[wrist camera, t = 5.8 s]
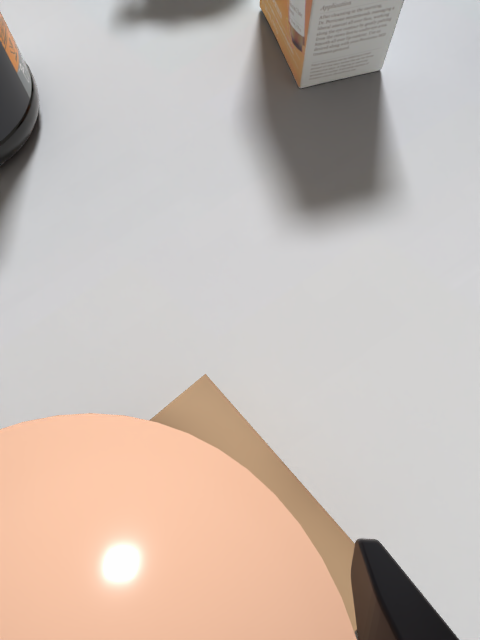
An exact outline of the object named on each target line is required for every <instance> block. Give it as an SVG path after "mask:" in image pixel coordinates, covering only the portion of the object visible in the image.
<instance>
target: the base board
mask: <svg viewBox="0 0 480 640" xmlns="http://www.w3.org/2000/svg"><path fill="white" fill-rule="evenodd" d="M149 421H153V422H157V423H160V424H163V425H166V426H169V427H172V428H174V429H177V430H180V431H183V432H186V433H189V434H190V435H192V436H194V437H196V438H198V439H200V440H202V441H204V442H206V443H208V444H210V445H212V446H214V447H216V448H218V449H219V450H221V451H222V452H224V453H225V454H226V455H228V456H229V457H231V458H232V459H234V460H235V461H236V462H238V463H239V464H241V465H242V466H244V467H245V468H246V469H248V470H249V471H250V472H251V473H252V474H253V475H254V476H255V477H257V478H258V479H259V480H260V481H261V482H262V483H263V484H264V485H265V486H266V487H267V488H268V489H270V490H271V491H272V492H273V493H274V494H275V495H276V496H277V498H278V499H279V500H280V501H281V502H282V503H283V505H284V506H285V507H286V508H287V509H288V511H289V512H290V513H291V514H292V515H293V517H294V518H295V519H296V520H297V521H298V522H299V524H300V525H301V527H302V528H303V530H304V531H305V533H306V534H307V536H308V537H309V539H310V540H311V542H312V543H313V545H314V547H315V548H316V550H317V551H318V553H319V554H320V556H321V557H322V559H323V561H324V563H325V565H326V567H327V569H328V571H329V573H330V575H331V577H332V579H333V581H334V583H335V585H336V587H337V589H338V591H339V593H340V595H341V597H342V600H343V603H344V605H345V608H346V611H347V614H348V616H349V619H350V622H351V625H352V627H353V630H354V632H355V631H356V630H357V625H356V617H355V609H354V601H353V593H352V585H351V565H352V559H353V553H354V547H355V544H354V542H353V541H352V540H351V539H350V538H349V537H348V536H347V535H346V533H345V532H344V531H343V530H342V529H341V528H340V527H339V525H338V524H337V523H336V522H335V521H334V520H333V519H332V517H331V516H330V515H329V514H328V513H327V512H326V511H325V509H324V508H323V507H322V506H321V505H320V504H319V503H318V502H317V500H316V499H315V498H314V497H313V496H312V495H311V494H310V492H309V491H308V490H307V489H306V488H305V487H304V486H303V484H302V483H301V482H300V481H299V480H298V479H297V478H296V476H295V475H294V474H293V473H292V472H291V471H290V470H289V468H288V467H287V466H286V465H285V464H284V463H283V462H282V461H281V459H280V458H279V457H278V456H277V455H276V454H275V453H274V451H273V450H272V449H271V448H270V447H269V446H268V445H267V443H266V442H265V441H264V440H263V439H262V438H261V437H260V435H259V434H258V433H257V432H256V431H255V430H254V429H253V427H252V426H251V425H250V424H249V423H248V422H247V421H246V420H245V418H244V417H243V416H242V415H241V414H240V413H239V412H238V410H237V409H236V408H235V407H234V406H233V405H232V404H231V402H230V401H229V400H228V399H227V398H226V397H225V396H224V394H223V393H222V392H221V391H220V390H219V389H218V388H217V386H216V385H215V384H214V383H213V382H212V381H211V380H210V379H209V377H208V376H207V375H206V374H205V375H204V376H202V377H201V378H200V379H199V380H198V381H196V382H195V383H194V384H193V385H191V386H190V387H189V388H188V389H187V390H185V391H184V392H183V393H182V394H181V395H179V396H178V397H177V398H176V399H175V400H173V401H172V402H171V403H170V404H169V405H167V406H166V407H165V408H164V409H163V410H161V411H160V412H159V413H158V414H157V415H155V416H154V417H153V418H152V419H151V420H149Z"/></svg>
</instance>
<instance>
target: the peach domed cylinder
mask: <svg viewBox="0 0 480 640" xmlns="http://www.w3.org/2000/svg"><path fill="white" fill-rule="evenodd" d="M0 640H357V638H356V636H355V633H354V630H353V627H352V625H351V622H350V619H349V616H348V614H347V611H346V608H345V605H344V603H343V600H342V597H341V595H340V593H339V591H338V589H337V587H336V585H335V583H334V581H333V579H332V577H331V575H330V573H329V571H328V569H327V567H326V565H325V563H324V561H323V559H322V557H321V556H320V554H319V553H318V551H317V550H316V548H315V547H314V545H313V543H312V542H311V540H310V539H309V537H308V536H307V534H306V533H305V531H304V530H303V528H302V527H301V525H300V524H299V522H298V521H297V520H296V519H295V518H294V517H293V515H292V514H291V513H290V512H289V511H288V509H287V508H286V507H285V506H284V505H283V503H282V502H281V501H280V500H279V499H278V498H277V496H276V495H275V494H274V493H273V492H272V491H271V490H270V489H268V488H267V487H266V486H265V485H264V484H263V483H262V482H261V481H260V480H259V479H258V478H257V477H255V476H254V475H253V474H252V473H251V472H250V471H249V470H248V469H246V468H245V467H244V466H242V465H241V464H239V463H238V462H236V461H235V460H234V459H232V458H231V457H229V456H228V455H226V454H225V453H224V452H222V451H221V450H219V449H218V448H216V447H214V446H212V445H210V444H208V443H206V442H204V441H202V440H200V439H198V438H196V437H194V436H192V435H190V434H189V433H186V432H183V431H180V430H177V429H174V428H172V427H169V426H166V425H163V424H160V423H157V422H153V421H148V420H143V419H138V418H134V417H129V416H123V415H108V414H93V413H89V414H73V415H57V416H52V417H47V418H42V419H36V420H31V421H26V422H22V423H19V424H16V425H13V426H9V427H6V428H3V429H0Z"/></svg>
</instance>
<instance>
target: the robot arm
mask: <svg viewBox="0 0 480 640" xmlns="http://www.w3.org/2000/svg"><path fill="white" fill-rule="evenodd" d="M351 585H352V593H353V601H354V609H355V617H356V625H357V633H358V640H459V639H458V638H457V636H456V635H455V634H454V633H453V631H452V630H451V629H450V628H449V626H448V625H447V624H446V623H445V622H444V620H443V619H442V618H441V617H440V615H439V614H438V613H437V612H436V610H435V609H434V608H433V607H432V606H431V604H430V603H429V602H428V601H427V599H426V598H425V597H424V596H423V594H422V593H421V592H420V591H419V590H418V588H417V587H416V586H415V585H414V583H413V582H412V581H411V580H410V578H409V577H408V576H407V575H406V574H405V572H404V571H403V570H402V569H401V567H400V566H399V565H398V564H397V562H396V561H395V560H394V559H393V558H392V556H391V555H390V554H389V553H388V551H387V550H386V549H385V548H384V546H383V545H382V544H381V543H380V542H379V541H378V540H375V539H357V541H356V543H355V547H354V553H353V559H352V565H351Z"/></svg>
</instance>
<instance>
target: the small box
mask: <svg viewBox="0 0 480 640" xmlns="http://www.w3.org/2000/svg"><path fill="white" fill-rule="evenodd" d="M403 2H404V0H260V8H261V10H262V11H263V13H264V15H265V17H266V19H267V20H268V22H269V24H270V26H271V29H272V31H273V33H274V35H275V37H276V39H277V41H278V43H279V46H280V48H281V50H282V52H283V54H284V56H285V59H286V61H287V63H288V65H289V67H290V69H291V71H292V74H293V76H294V78H295V81H296V83H297V85H298V87H299V88H304V87H308V86H313V85H317V84H321V83H325V82H330V81H334V80H339V79H343V78H348V77H352V76H357V75H361V74H366V73H370V72H375V71H379V70H381V69H382V66H383V63H384V60H385V57H386V54H387V51H388V48H389V45H390V42H391V38H392V36H393V33H394V30H395V27H396V24H397V21H398V17H399V14H400V11H401V8H402V5H403Z"/></svg>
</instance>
